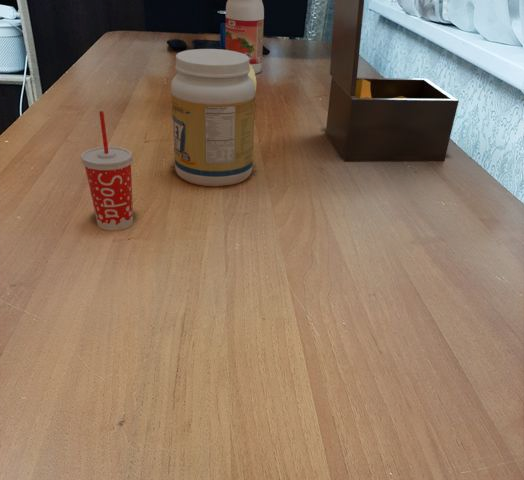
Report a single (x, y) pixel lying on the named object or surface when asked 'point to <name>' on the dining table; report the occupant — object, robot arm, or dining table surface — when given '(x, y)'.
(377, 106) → the chest
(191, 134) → the supplement tub
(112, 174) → the beverage cup
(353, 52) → the chest lid
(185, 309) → the dining table surface
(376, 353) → the dining table surface
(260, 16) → the fruit juice
